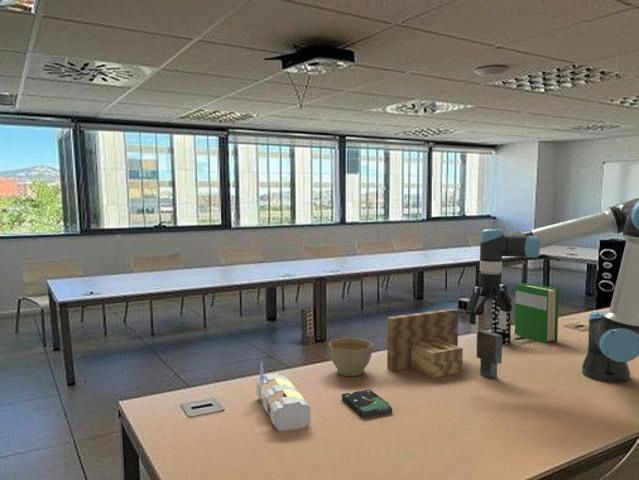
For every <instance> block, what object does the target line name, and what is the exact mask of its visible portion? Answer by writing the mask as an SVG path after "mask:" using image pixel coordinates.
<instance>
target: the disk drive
mask: <svg viewBox="0 0 639 480" xmlns="http://www.w3.org/2000/svg"><path fill="white" fill-rule="evenodd" d="M341 401H342V402H343V403H344V404H345V405H347V407H349V408H350V409H351V410H352V411H353V412H354V413H356V414H357V416H358V417H359V418H361V419H368V418H369V419H370V418H374V417H379V416H384V415H391V414H392V413H393V408H392V406H391V404H390V403H388V402H387V401H386V400H385V399H383V398H382V397H380V396H379V395H378V394H377V393H375V392H374V391H373V390H371V389H365V390H358V391H353V392H352V393H350V392H346V393H345V392H344V393H342V394H341Z"/></svg>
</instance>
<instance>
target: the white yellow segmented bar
mask: <svg viewBox="0 0 639 480" xmlns="http://www.w3.org/2000/svg"><path fill="white" fill-rule="evenodd" d="M264 370H265V369H264V363H263V362H261V363H260V365H259V378H258V379H257V380H256V383H255V385H256V395H257V398H259V400H260V401H261V403H262V405H263V408H264V410H265V411H266V413H267V415H269V417H270V421H271V422H272V424H273V425H274V427H275V429H276V430H277V432H284V431H291V430H296V429H302V428H308V425H309V424H310V422H311V406H310V405H309V404H308V403H307V401H306V400H305V399H304V397H303V396H302V394H301V393H300V392H299V391H298V389H297V388H296V387H295V386H294V385H293V383H292V382H291V381H290V379H289V378H288V377H287V376H286V375H285V374H284V375H281V374H279V373H278V372H277V373H269V374H265V373H264V372H265V371H264ZM271 381H272V382H273V381H275V382H276V383H277V384H274V385H272V386H271V387H270V388H267V389H265V390H264V391H263V392H262V391H261V390H262V387H263V385H268V384H269V382H271ZM282 392H283V394H282V395H283V396H282V397H279V400H276V401H273V402H272V404H270V410H269V398H270V397H274V396H276V395H277V393H282Z"/></svg>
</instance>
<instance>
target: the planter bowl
mask: <svg viewBox="0 0 639 480" xmlns="http://www.w3.org/2000/svg"><path fill="white" fill-rule="evenodd" d="M328 348H329V354H330V359H331V360H332V363H333V365H334V366H335V368H336V369H337V372H338V374H339V375H342V376H348V377H357V376H360V375H363V374H364V370H365V369H366V368H367V366H368V364H369V363H370V361H371V357H372V351H373V349H372V348H373V343H372V342H371V341H369V340H366V339H362V338H354V337H353V338H352V337H351V338H349V337H347V338H339V339H332V340H331V341H329V343H328Z"/></svg>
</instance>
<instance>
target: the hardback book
mask: <svg viewBox="0 0 639 480" xmlns="http://www.w3.org/2000/svg"><path fill="white" fill-rule="evenodd" d="M559 295H560V289H559V288H555V287H550V286H543V285H538V284H534V283H533V284H532V283H528V282H526V283H517V284H515V305H514V306H515V309H514V310H515V312H514V313H515V314H514V335H516V334H517V335H516V336H519V335H520V336H519V337H522V336H523V337H522V338H525V337H526V339H528V338H529V339H528V340H531V341H535V342H538V343H542V344H545V345H547V344H548V342H554V343H558V338H559V337H558V333H559V299H560V296H559Z"/></svg>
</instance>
